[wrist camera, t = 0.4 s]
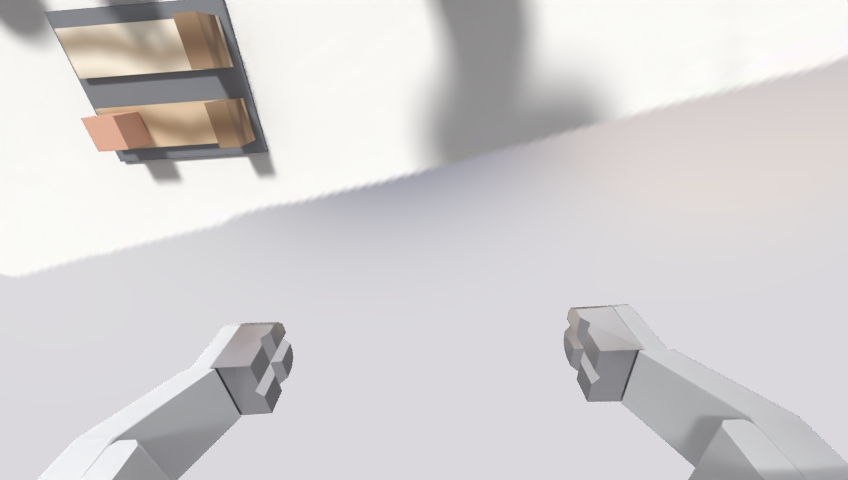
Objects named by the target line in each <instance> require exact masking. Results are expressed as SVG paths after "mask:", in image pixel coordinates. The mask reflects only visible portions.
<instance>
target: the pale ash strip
mask: <svg viewBox="0 0 848 480" xmlns="http://www.w3.org/2000/svg"><path fill="white" fill-rule="evenodd" d="M172 16H173V18H174V19H164V20H152V21H140V22H128V23H116V24H105V25H93V26H81V27H69V28H57V29H54V30H55V32H56V34H57V36H58V38H59V40H60V42H61V44H62V46H63V48H64V50H65V52H66V54H67V56H68V57H69V59H70V61H71V63H72V65H73V67H74V69H75V71H76V73H77V75H78V77H79V79H86V78H99V77H112V76H125V75H138V74H151V73H164V72H177V71H190V70H203V69H216V68H229V67H234V66H233V63H232V59H231V56H230V53H229V49H228V46H227V43H226V40H225V36H224V33H223V30H222V26H221V23H220V20H219V16H216V15H211V14H206V13H202V12H197V11H194V12H182V13H172Z"/></svg>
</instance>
